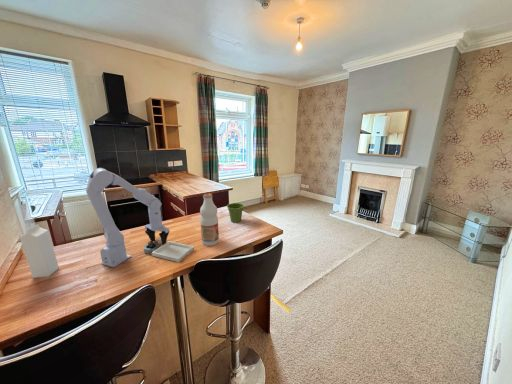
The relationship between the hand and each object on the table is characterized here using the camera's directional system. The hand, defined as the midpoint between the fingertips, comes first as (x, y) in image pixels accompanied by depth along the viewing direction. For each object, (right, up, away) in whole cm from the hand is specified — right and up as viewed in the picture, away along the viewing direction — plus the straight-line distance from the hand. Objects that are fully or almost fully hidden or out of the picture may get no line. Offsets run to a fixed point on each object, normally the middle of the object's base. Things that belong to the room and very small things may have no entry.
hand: (158, 242), depth 114 cm
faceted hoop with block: (-1, -3, -3) cm, 4 cm away
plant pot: (+39, +7, +33) cm, 52 cm away
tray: (+11, -4, -6) cm, 13 cm away
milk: (-39, -8, -23) cm, 45 cm away
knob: (-2, -3, -4) cm, 6 cm away
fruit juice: (+27, -1, +4) cm, 28 cm away
